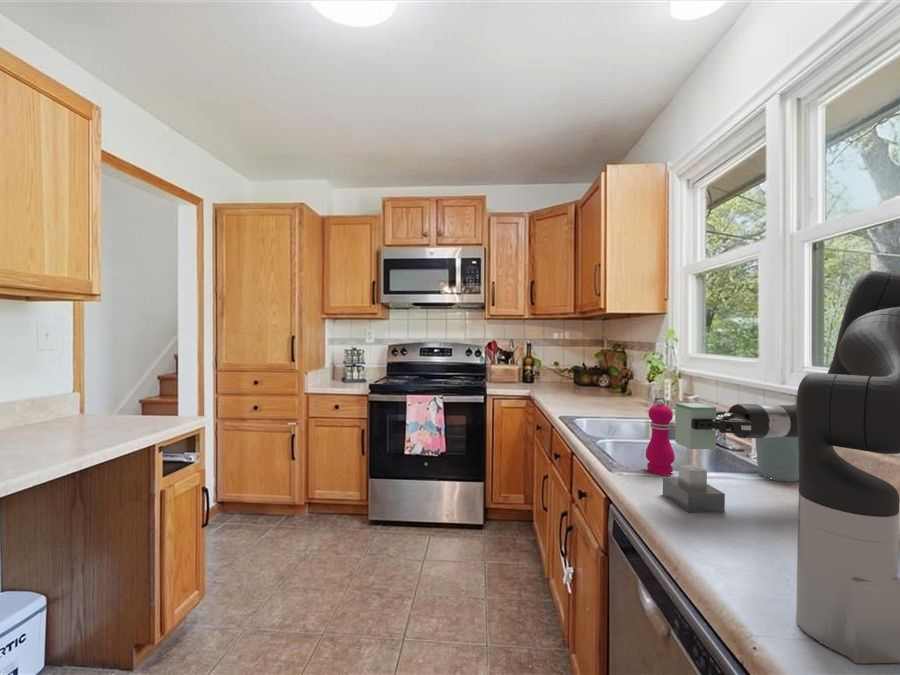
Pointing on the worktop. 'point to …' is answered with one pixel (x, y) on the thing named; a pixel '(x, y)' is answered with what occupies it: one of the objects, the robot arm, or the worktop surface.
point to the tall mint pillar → (687, 433)
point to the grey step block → (693, 491)
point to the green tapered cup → (778, 458)
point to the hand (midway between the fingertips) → (684, 421)
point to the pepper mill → (660, 440)
